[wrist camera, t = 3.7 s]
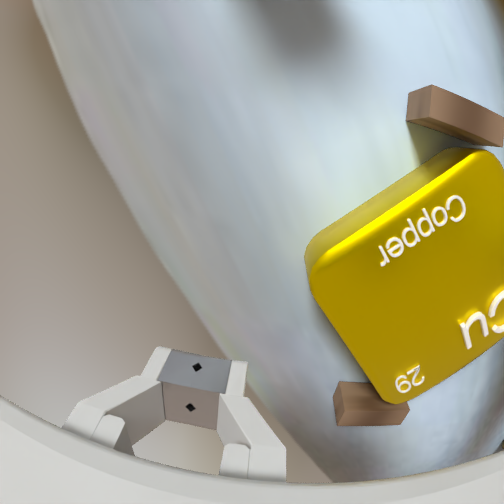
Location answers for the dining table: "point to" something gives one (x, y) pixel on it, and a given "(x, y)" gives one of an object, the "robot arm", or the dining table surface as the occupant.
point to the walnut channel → (462, 127)
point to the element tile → (417, 273)
